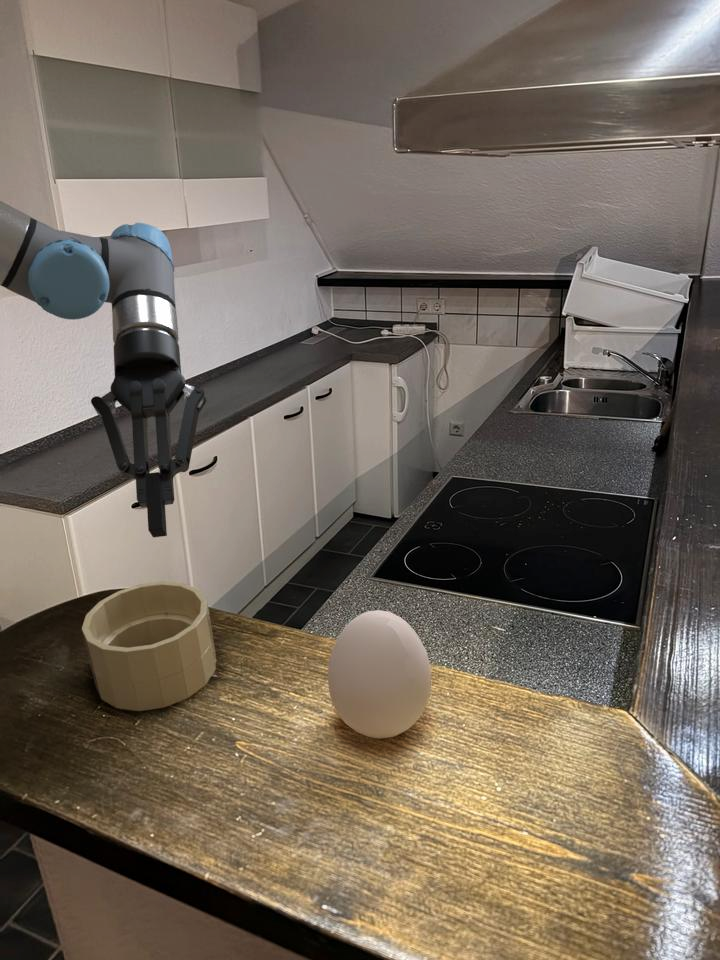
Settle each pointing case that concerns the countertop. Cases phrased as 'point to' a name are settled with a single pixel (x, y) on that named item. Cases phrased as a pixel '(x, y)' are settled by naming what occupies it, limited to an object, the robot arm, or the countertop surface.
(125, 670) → the ring
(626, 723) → the countertop surface
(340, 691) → the egg
